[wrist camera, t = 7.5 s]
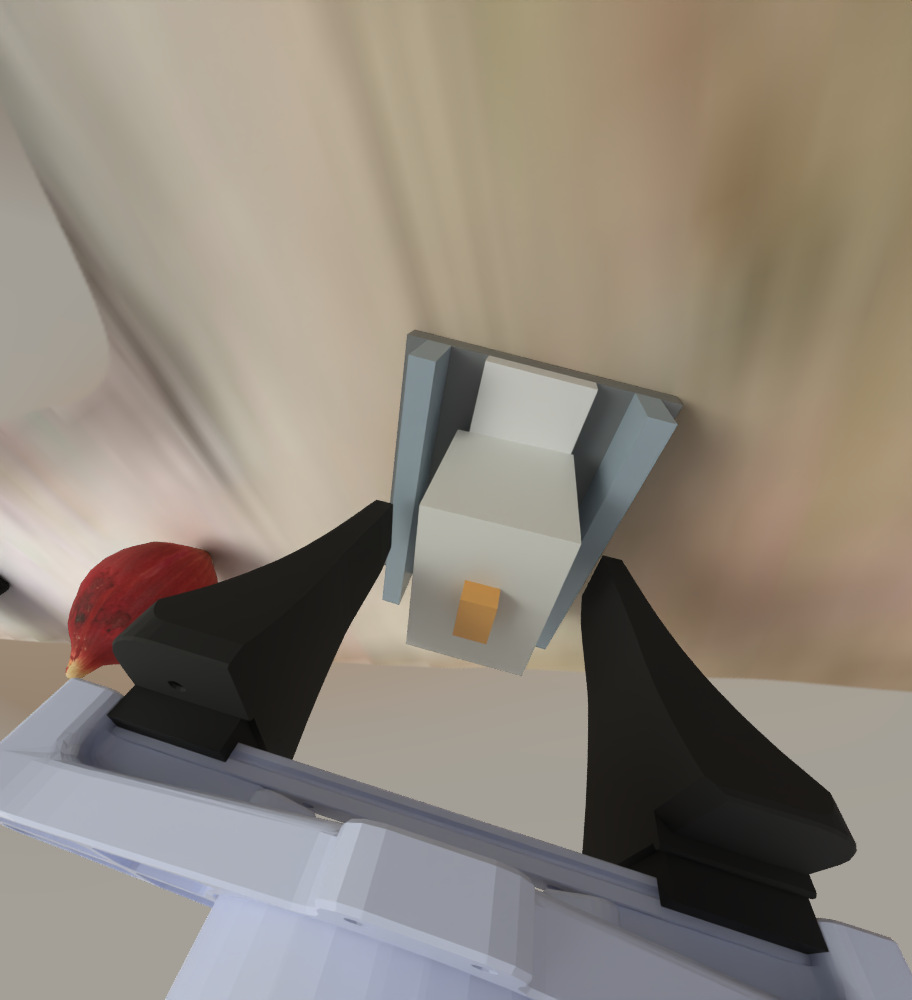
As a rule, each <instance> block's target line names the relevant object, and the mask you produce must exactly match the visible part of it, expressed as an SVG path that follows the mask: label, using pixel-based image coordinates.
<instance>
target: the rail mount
mask: <svg viewBox="0 0 912 1000" xmlns="http://www.w3.org/2000/svg"><path fill="white" fill-rule="evenodd" d="M682 406H683V404H682V403H681V402H680V400H679V399H678V398H677V397H676V396H672V395H669V394H665V393H661V392H657V391H653V390H649V389H645V388H641V387H637V386H633V385H629V384H625V383H622V382H618V381H614V380H610V379H606V378H602V377H598V376H594V375H590V374H586V373H582V372H578V371H574V370H571V369H567V368H563V367H559V366H555V365H551V364H547V363H543V362H539V361H535V360H531V359H527V358H523V357H520V356H516V355H512V354H508V353H504V352H500V351H496V350H492V349H488V348H484V347H480V346H476V345H473V344H469V343H465V342H461V341H457V340H453V339H449V338H445V337H441V336H437V335H433V334H429V333H425V332H422V331H418V330H414V331H412V332H410V333H409V334H407V343H406V352H405V362H404V372H403V382H402V392H401V402H400V411H399V421H398V431H397V441H396V451H395V461H394V471H393V480H392V490H391V500H390V503H391V504H393V523H392V545H391V549H390V552H389V554H388V557H387V559H386V561H385V564H384V565H386V571H385V580H384V590H383V599H382V600H385V601H388V602H391V603H395V604H398V605H399V604H400V602H401V599H402V597H403V595H404V592H405V590H406V588H407V585H408V583H409V581H410V578H411V576H412V573H413V567H414V557H415V546H416V536H417V525H418V515H419V505H420V503H421V501H422V499H423V497H424V495H425V493H426V491H427V489H428V487H429V485H430V483H431V481H432V479H433V477H434V475H435V473H436V471H437V470H438V468H439V466H440V464H441V462H442V460H443V458H444V456H445V454H446V452H447V450H448V448H449V446H450V444H451V442H452V440H453V438H454V436H455V434H456V432H457V430H463V431H467V432H472V433H476V434H481V435H485V436H490V437H495V438H499V439H504V440H508V441H513V442H517V443H522V444H526V445H531V446H535V447H540V448H545V449H549V450H554V451H558V452H563V453H567V454H572V455H574V466H575V477H576V489H577V500H578V511H579V523H580V534H581V546H580V548H579V550H578V553H577V555H576V557H575V559H574V562H573V564H572V566H571V568H570V570H569V573H568V575H567V577H566V579H565V581H564V584H563V586H562V588H561V590H560V593H559V595H558V597H557V599H556V601H555V604H554V606H553V608H552V610H551V612H550V615H549V617H548V619H547V621H546V624H545V626H544V628H543V630H542V632H541V635H540V637H539V639H538V641H537V643H536V646H535V647H539V648H542V649H546V647H547V645H548V644H549V642H550V640H551V639H552V637H553V635H554V634H555V632H556V630H557V629H558V627H559V625H560V623H561V622H562V620H563V618H564V617H565V615H566V613H567V612H568V610H569V608H570V606H571V605H572V603H573V601H574V600H575V598H576V596H577V595H578V593H579V591H580V589H581V588H582V586H583V584H584V583H585V581H586V579H587V578H588V576H589V574H590V573H591V571H592V569H593V567H594V566H595V564H596V562H597V561H598V559H599V557H600V556H601V554H602V552H603V550H604V549H605V547H606V545H607V544H608V542H609V540H610V539H611V537H612V535H613V534H614V532H615V530H616V528H617V527H618V525H619V523H620V522H621V520H622V518H623V517H624V515H625V513H626V511H627V510H628V508H629V506H630V505H631V503H632V501H633V500H634V498H635V496H636V494H637V493H638V491H639V489H640V488H641V486H642V484H643V483H644V481H645V479H646V478H647V476H648V474H649V472H650V471H651V469H652V467H653V466H654V464H655V462H656V461H657V459H658V457H659V455H660V454H661V452H662V450H663V449H664V447H665V445H666V444H667V442H668V440H669V439H670V437H671V435H672V433H673V432H674V430H675V428H676V427H677V425H678V424H677V423H676V421H675V418H676V417H677V415H678V413H679V411H680V410H681V408H682Z"/></svg>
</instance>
